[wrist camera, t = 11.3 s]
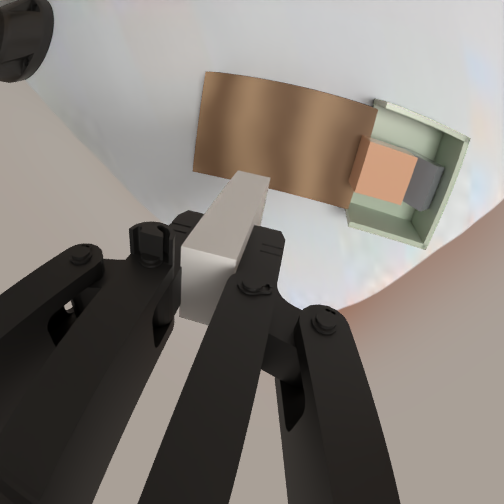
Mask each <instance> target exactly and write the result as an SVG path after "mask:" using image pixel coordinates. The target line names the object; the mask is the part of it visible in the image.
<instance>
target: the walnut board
mask: <svg viewBox="0 0 504 504" xmlns="http://www.w3.org/2000/svg"><path fill="white" fill-rule="evenodd" d="M377 112H378V109H376V108H374V107H371V106H368V105H365V104H362V103H359V102H356V101H353V100H349V99H346V98H343V97H339V96H336V95H332V94H328V93H325V92H321V91H317V90H313V89H309V88H305V87H300V86H296V85H291V84H287V83H282V82H277V81H272V80H266V79H261V78H255V77H248V76H242V75H235V74H228V73H219V72H206V73H205V80H204V86H203V93H202V100H201V107H200V114H199V121H198V129H197V137H196V145H195V154H194V163H193V172H198V173H203V174H208V175H212V176H217V177H222V178H226V179H231V178H232V177H233V176H234V175H235V173H236V172H237V171H243V172H247V173H252V174H256V175H261V176H265V177H270V182H269V187H268V188H269V189H274V190H278V191H282V192H286V193H289V194H293V195H297V196H301V197H305V198H309V199H312V200H316V201H320V202H323V203H327V204H331V205H334V206H338V207H341V208H345V209H348V208H349V205H350V202H351V199H352V196H353V193H354V190H353V189H352V187H351V185H350V183H349V178H350V174H351V171H352V168H353V164H354V161H355V158H356V154H357V151H358V147H359V144H360V141H361V137H362V135H364V136H367V137H370V138H371V134H372V131H373V127H374V123H375V120H376V116H377Z"/></svg>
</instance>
